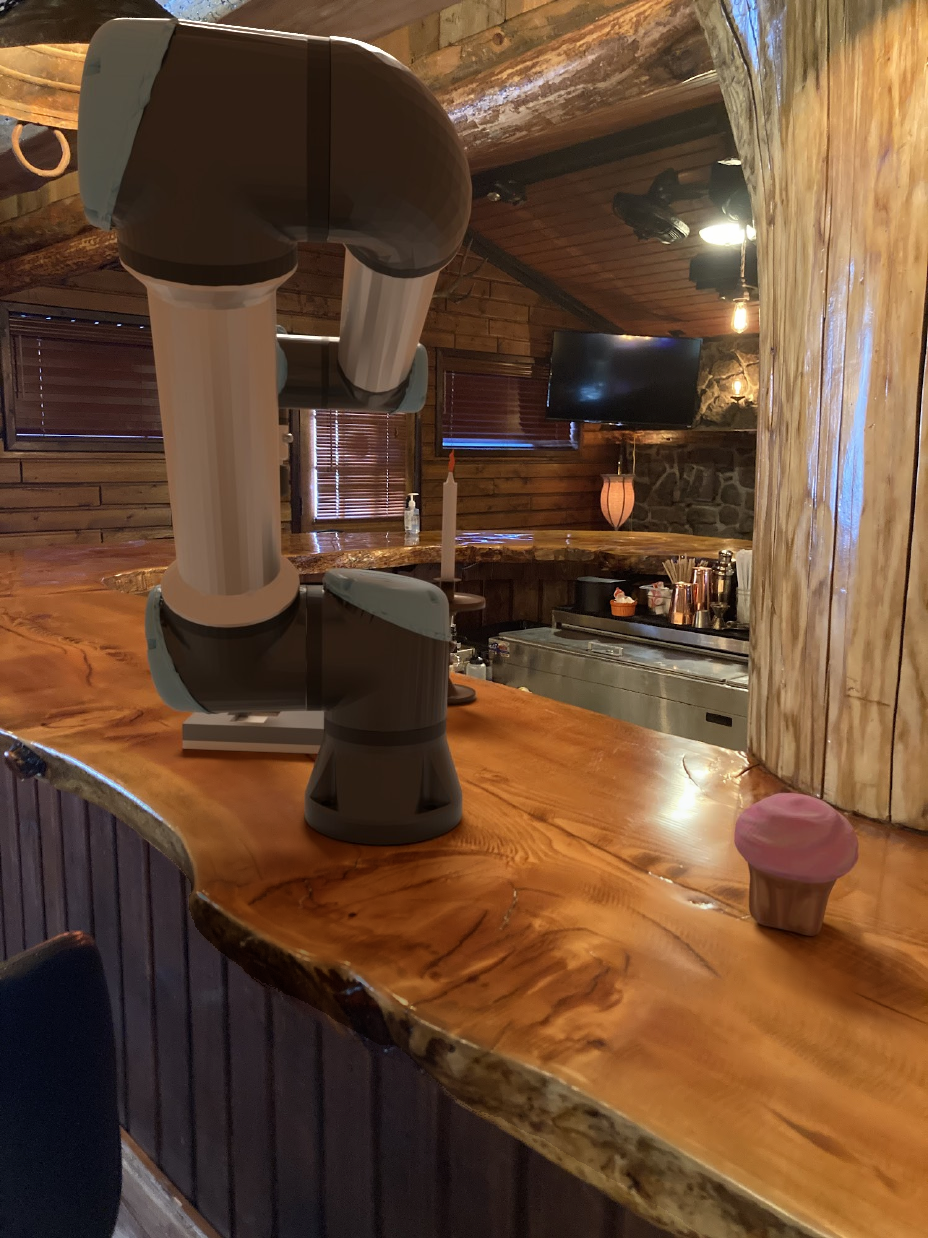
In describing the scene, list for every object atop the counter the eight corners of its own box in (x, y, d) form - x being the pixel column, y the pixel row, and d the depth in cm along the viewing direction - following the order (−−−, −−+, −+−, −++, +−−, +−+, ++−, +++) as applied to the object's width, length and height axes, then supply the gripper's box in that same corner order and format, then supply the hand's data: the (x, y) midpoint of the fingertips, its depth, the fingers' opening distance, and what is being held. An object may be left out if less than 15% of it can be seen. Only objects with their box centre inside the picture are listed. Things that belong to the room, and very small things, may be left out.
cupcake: (719, 933, 69) (730, 805, 67) (735, 885, 77) (745, 770, 75) (847, 962, 65) (863, 829, 63) (851, 909, 73) (864, 789, 71)
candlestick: (428, 684, 139) (434, 448, 133) (494, 694, 135) (503, 450, 129) (392, 699, 130) (396, 447, 124) (461, 711, 125) (469, 449, 119)
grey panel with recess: (408, 757, 106) (409, 689, 104) (182, 748, 106) (181, 681, 105) (416, 722, 120) (418, 662, 118) (217, 714, 120) (216, 654, 119)
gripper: (271, 465, 99) (272, 677, 103) (302, 461, 116) (302, 643, 120) (201, 462, 99) (205, 674, 103) (242, 459, 116) (244, 641, 120)
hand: (257, 657), depth 112 cm, fingers closed on rook chess piece, 4 cm apart
